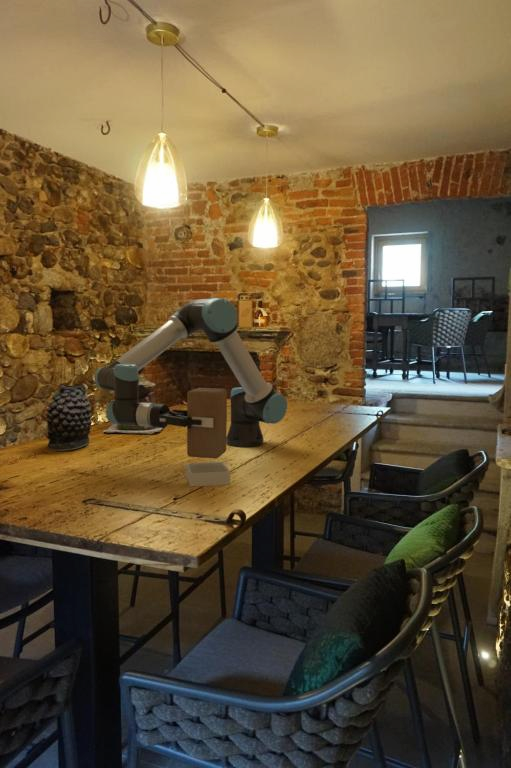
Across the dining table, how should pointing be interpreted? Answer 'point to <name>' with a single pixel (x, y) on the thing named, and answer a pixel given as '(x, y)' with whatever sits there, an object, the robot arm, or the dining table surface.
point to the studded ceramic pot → (69, 418)
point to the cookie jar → (144, 396)
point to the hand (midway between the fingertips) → (219, 419)
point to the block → (205, 438)
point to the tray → (207, 474)
